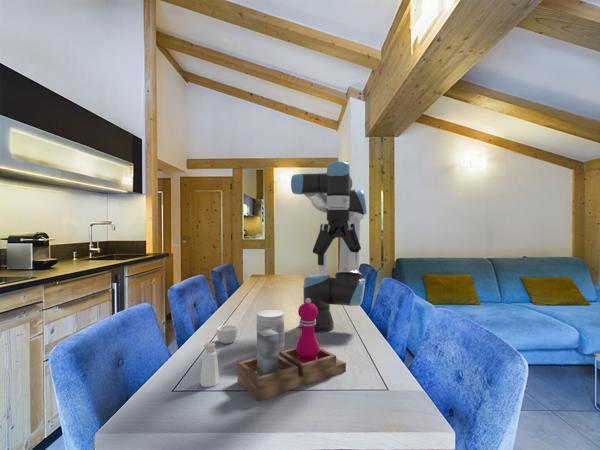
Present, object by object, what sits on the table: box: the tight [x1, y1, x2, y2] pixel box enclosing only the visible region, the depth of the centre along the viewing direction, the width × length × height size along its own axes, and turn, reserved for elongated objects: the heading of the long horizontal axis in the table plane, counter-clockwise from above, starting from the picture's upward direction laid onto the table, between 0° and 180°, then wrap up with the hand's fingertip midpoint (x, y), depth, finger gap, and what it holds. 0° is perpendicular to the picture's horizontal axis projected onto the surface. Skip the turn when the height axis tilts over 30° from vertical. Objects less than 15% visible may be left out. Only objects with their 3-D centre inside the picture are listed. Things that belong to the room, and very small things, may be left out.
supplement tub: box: [256, 309, 286, 352], centre depth 112 cm, size 10×10×15 cm
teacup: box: [216, 324, 238, 345], centre depth 126 cm, size 10×8×5 cm
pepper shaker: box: [199, 341, 220, 388], centre depth 92 cm, size 5×5×11 cm
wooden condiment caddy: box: [237, 329, 347, 402], centre depth 96 cm, size 30×12×14 cm, turn 126°
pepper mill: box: [295, 298, 320, 363], centre depth 99 cm, size 7×7×20 cm
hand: (337, 273), depth 108 cm, fingers open, 13 cm apart
